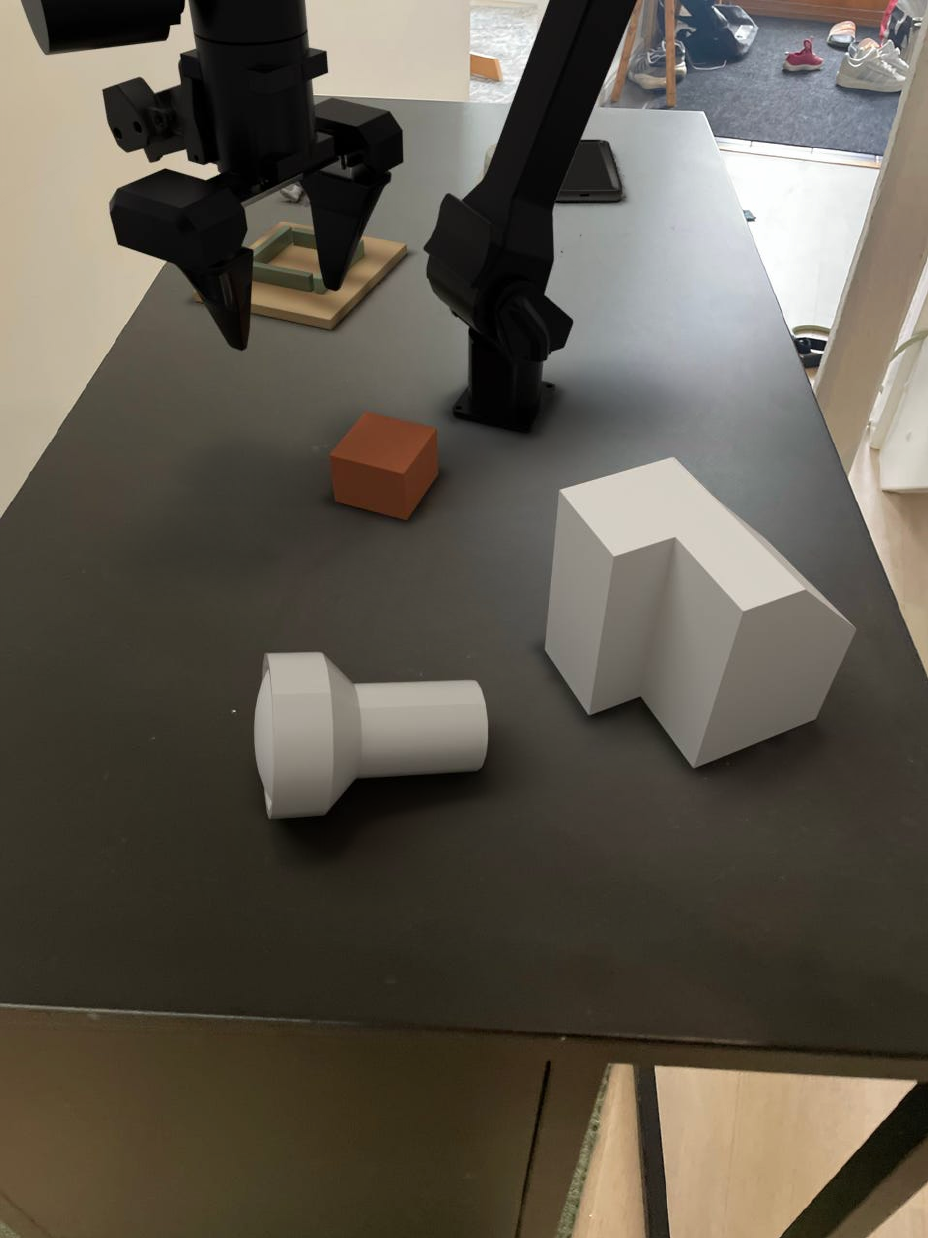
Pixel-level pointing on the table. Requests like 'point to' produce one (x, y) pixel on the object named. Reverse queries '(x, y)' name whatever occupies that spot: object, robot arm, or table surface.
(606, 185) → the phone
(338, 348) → the table surface
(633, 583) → the corner bracket
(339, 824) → the table surface
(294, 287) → the wooden board with frame
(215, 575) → the table surface
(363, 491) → the orange square block
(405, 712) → the spotlight
